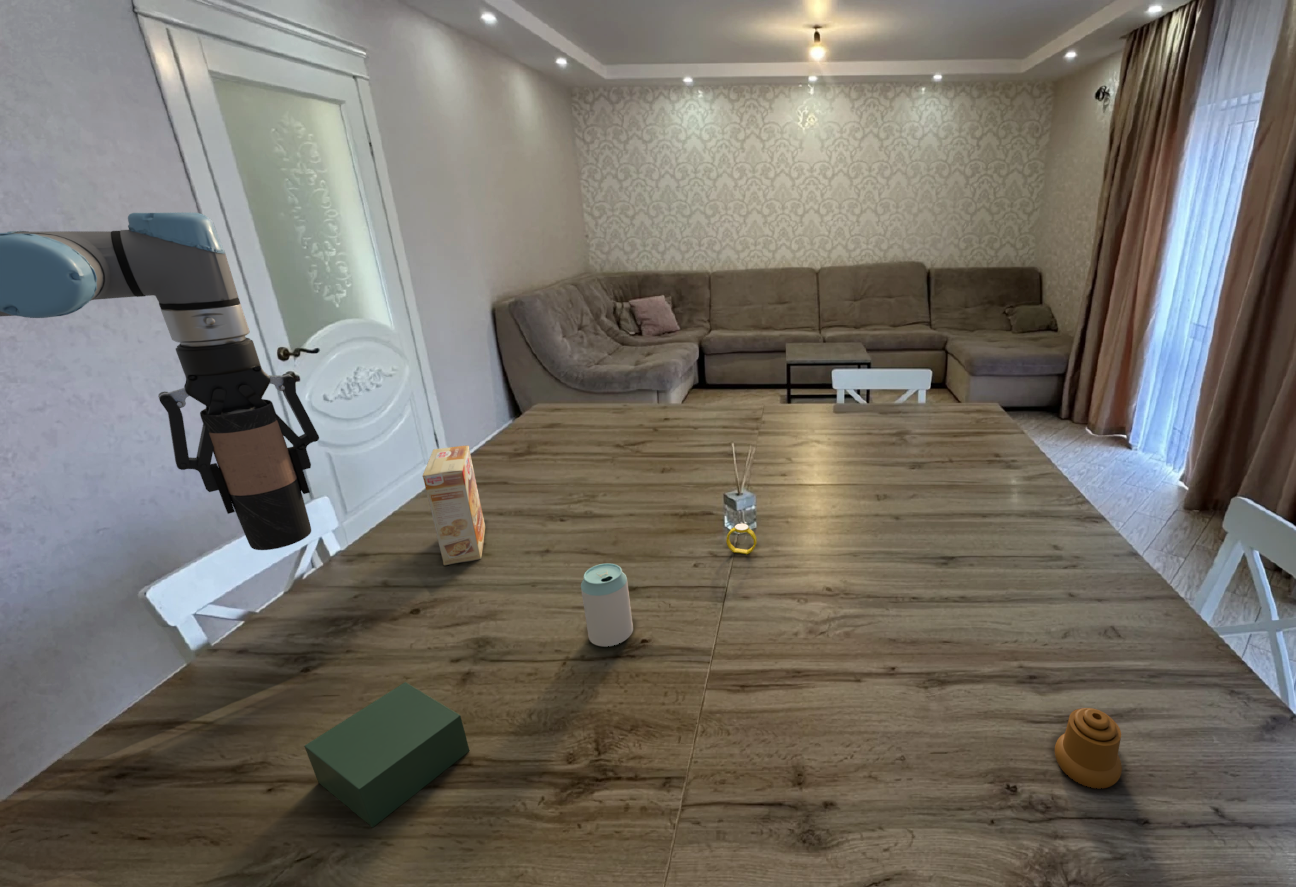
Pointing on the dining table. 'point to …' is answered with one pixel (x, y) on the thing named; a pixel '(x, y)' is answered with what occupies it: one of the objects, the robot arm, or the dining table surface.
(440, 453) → the coffeecake box
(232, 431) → the travel mug
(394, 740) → the green block
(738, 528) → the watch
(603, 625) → the can
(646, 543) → the dining table surface
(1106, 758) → the ornamental finial
